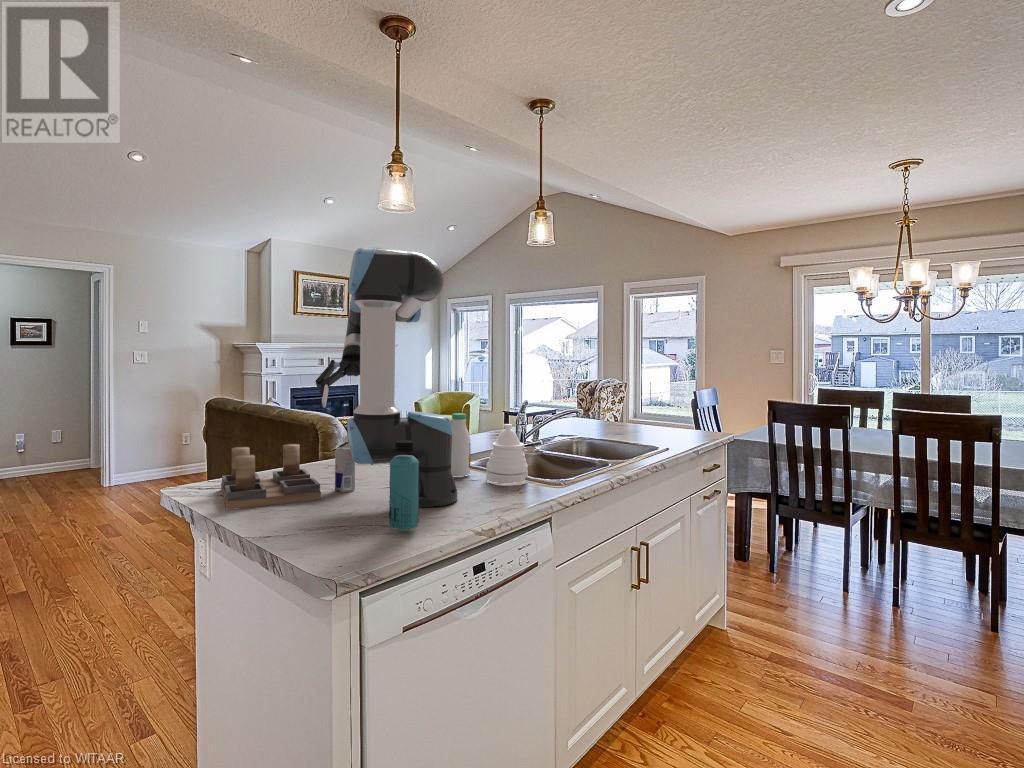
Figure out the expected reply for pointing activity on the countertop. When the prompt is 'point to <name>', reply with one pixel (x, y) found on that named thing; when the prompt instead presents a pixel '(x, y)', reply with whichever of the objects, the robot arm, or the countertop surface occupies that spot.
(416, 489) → the beverage bottle
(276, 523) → the countertop surface
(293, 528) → the countertop surface
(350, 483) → the energy drink
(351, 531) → the countertop surface
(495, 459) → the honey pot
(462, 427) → the milk bottle
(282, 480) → the pillar candle tray
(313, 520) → the countertop surface
